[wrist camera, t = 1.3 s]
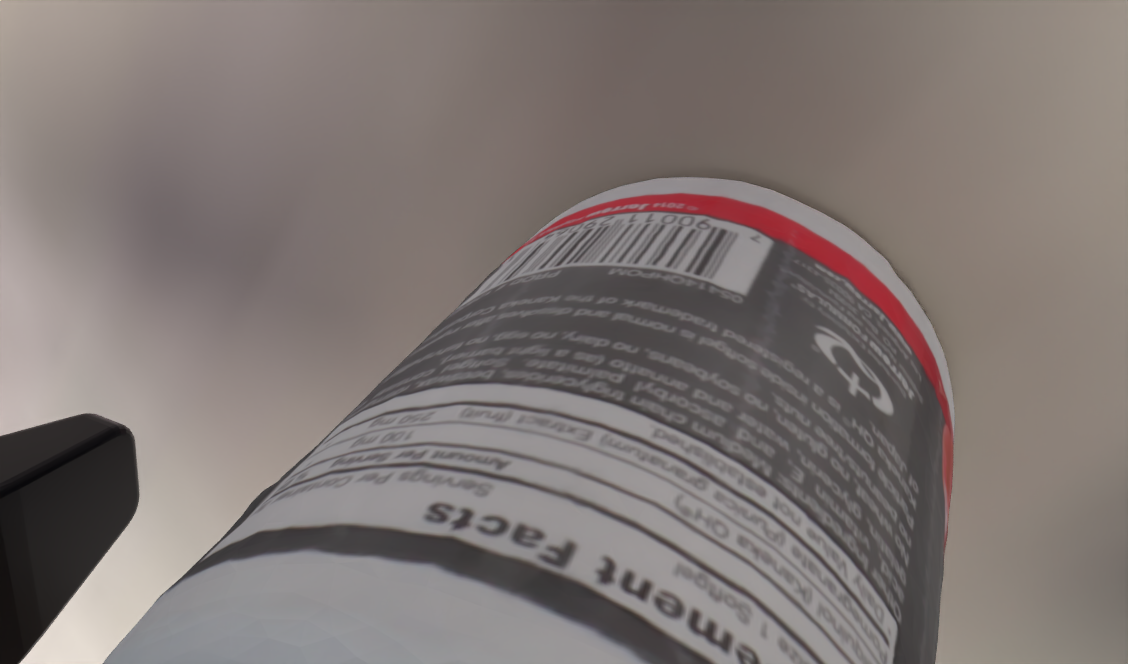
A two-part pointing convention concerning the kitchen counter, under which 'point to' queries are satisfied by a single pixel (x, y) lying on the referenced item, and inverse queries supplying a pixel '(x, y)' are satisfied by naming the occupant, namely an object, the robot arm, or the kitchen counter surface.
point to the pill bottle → (615, 464)
